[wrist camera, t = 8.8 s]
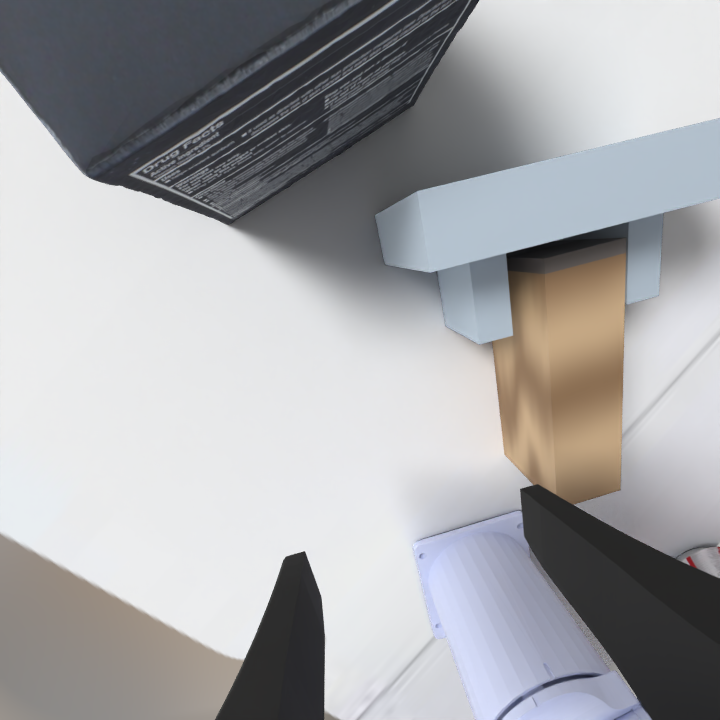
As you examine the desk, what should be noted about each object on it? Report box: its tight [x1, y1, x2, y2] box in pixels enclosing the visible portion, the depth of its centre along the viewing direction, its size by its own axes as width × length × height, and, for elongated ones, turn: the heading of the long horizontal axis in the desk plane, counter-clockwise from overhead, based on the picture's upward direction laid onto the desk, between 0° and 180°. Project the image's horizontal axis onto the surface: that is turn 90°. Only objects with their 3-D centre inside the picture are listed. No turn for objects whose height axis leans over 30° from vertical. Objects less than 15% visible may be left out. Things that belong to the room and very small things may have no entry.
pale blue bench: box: [375, 118, 720, 345], centre depth 15 cm, size 6×14×7 cm, turn 103°
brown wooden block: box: [492, 238, 626, 504], centre depth 18 cm, size 13×4×5 cm, turn 13°
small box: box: [0, 0, 479, 225], centre depth 10 cm, size 11×6×10 cm, turn 121°
